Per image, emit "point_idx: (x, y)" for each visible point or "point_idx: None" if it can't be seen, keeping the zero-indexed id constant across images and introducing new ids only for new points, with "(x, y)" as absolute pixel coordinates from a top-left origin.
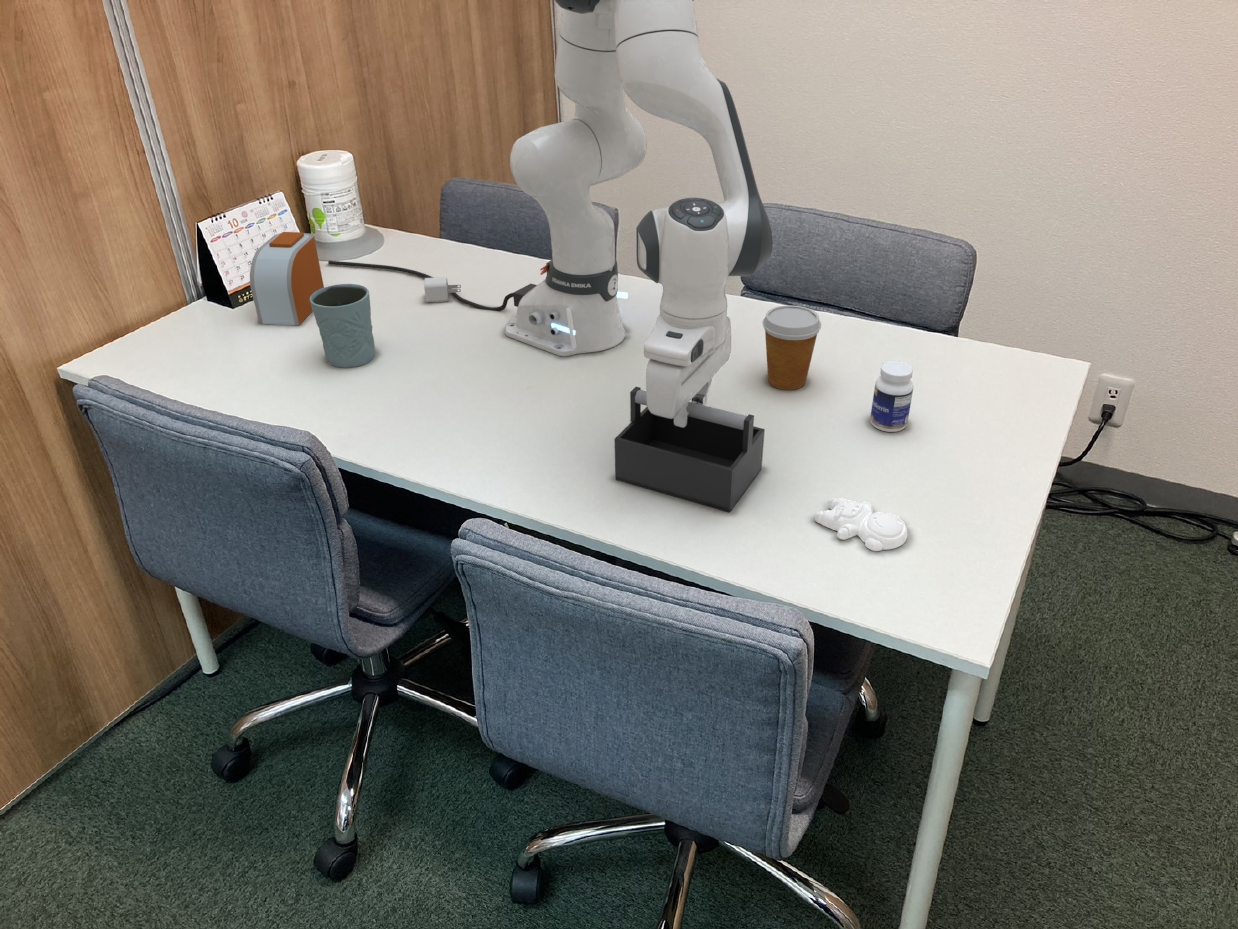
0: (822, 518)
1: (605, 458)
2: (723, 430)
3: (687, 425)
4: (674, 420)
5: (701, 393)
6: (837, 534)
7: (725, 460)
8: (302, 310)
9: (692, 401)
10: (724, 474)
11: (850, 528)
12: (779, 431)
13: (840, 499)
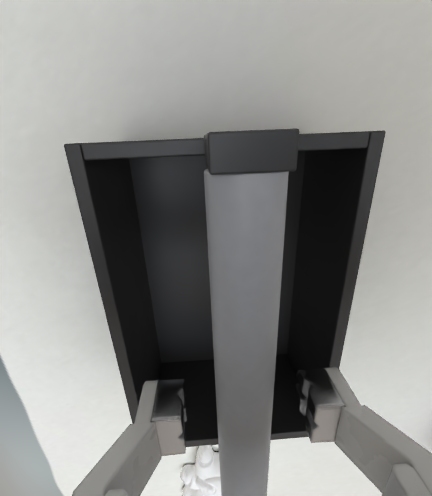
0: (196, 461)
1: (184, 61)
2: (317, 345)
3: (323, 255)
4: (141, 396)
5: (340, 434)
6: (182, 471)
7: (286, 308)
8: None
9: (308, 383)
10: None
11: (191, 488)
12: (417, 331)
13: None
